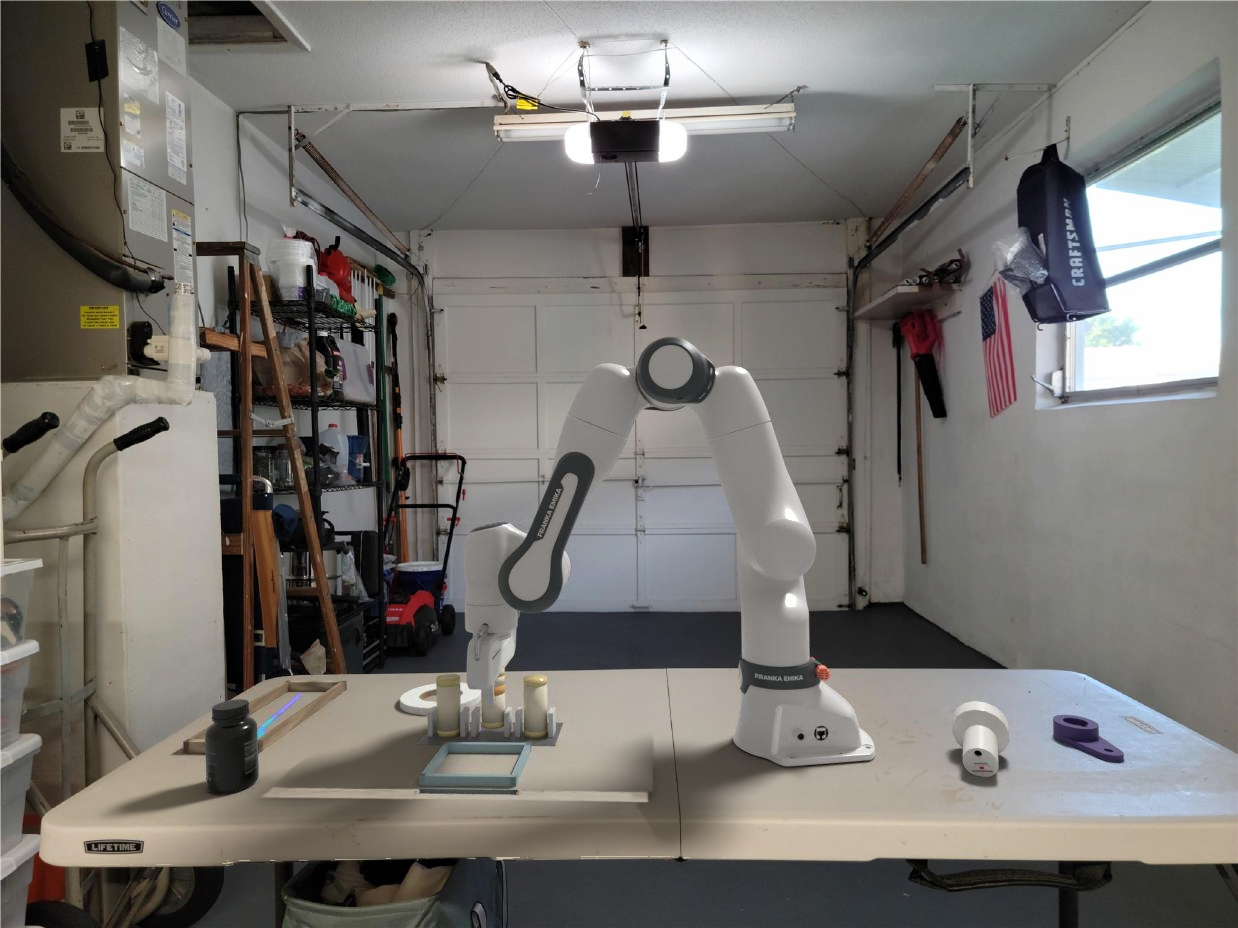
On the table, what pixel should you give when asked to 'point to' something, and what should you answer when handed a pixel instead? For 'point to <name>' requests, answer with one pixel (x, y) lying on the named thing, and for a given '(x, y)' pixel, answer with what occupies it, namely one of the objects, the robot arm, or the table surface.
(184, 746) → the wooden frame
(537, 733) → the fuse
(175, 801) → the table surface
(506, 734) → the clip block
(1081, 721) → the lever
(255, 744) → the supplement bottle
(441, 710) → the fuse
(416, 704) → the roll of tape
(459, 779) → the tray
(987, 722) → the spotlight
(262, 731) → the spoon
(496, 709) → the cylinder
